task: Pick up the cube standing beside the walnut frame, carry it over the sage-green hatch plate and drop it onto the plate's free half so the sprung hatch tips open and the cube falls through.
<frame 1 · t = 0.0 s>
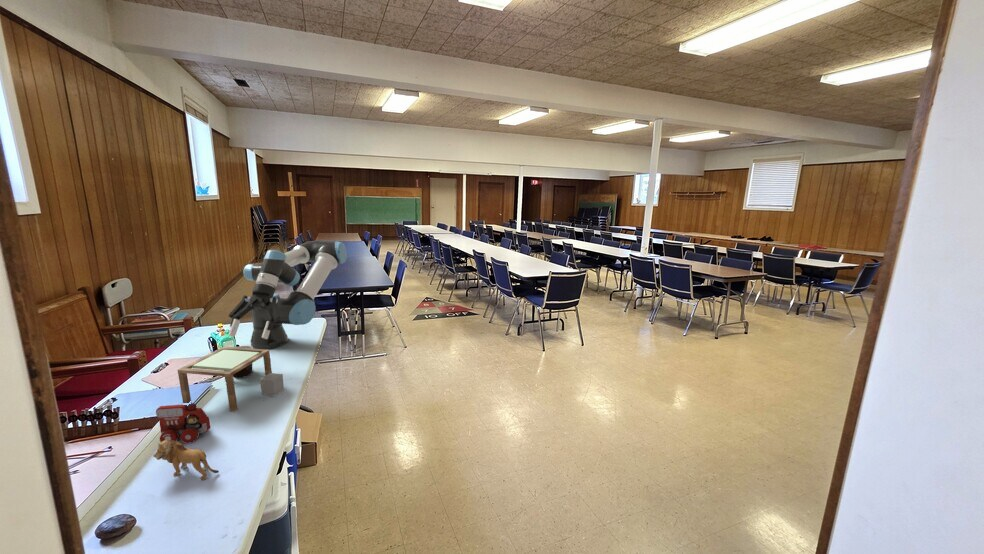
hand: (247, 337, 145), 15 cm above the table, tool tilted 35°, fingers open, 13 cm apart
cube: (273, 391, 136), on the table
lion figurine: (188, 474, 97), on the table
hatch: (228, 359, 131), point 13 cm above the table, hinge at 0.0°
coffee mug: (245, 372, 150), on the table
frame: (231, 394, 133), on the table
toy fire truck: (186, 437, 111), on the table
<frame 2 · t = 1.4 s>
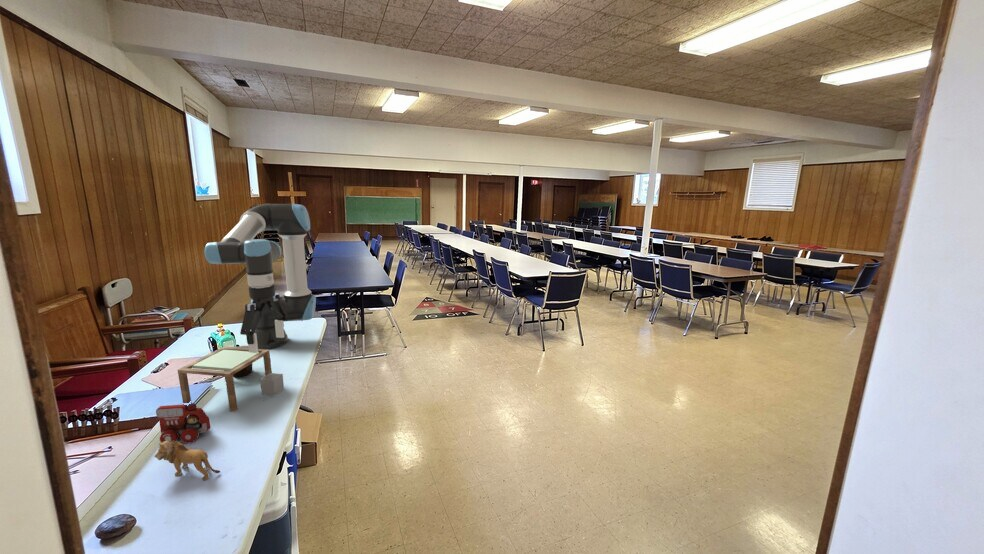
hand: (267, 344, 132), 18 cm above the table, tool pointing down, fingers open, 13 cm apart
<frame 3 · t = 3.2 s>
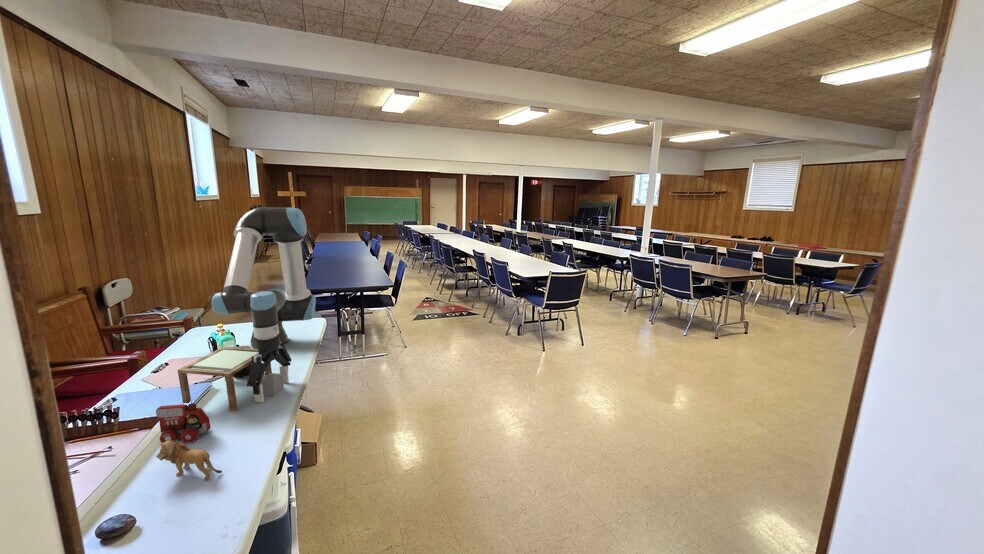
hand: (272, 391, 136), 0 cm above the table, tool pointing down, fingers open, 13 cm apart
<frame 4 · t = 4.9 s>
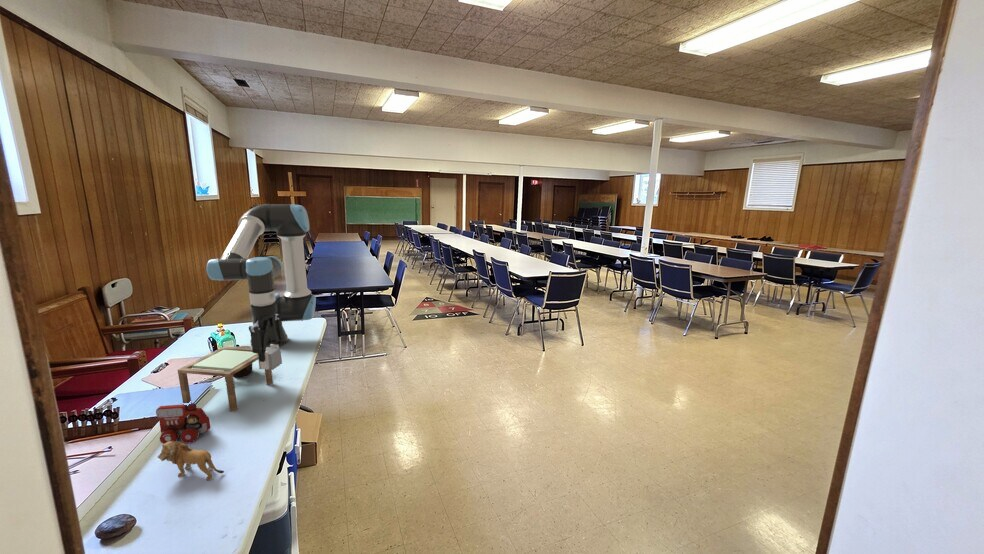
hand: (270, 364, 134), 10 cm above the table, tool pointing down, fingers closed on cube, 5 cm apart
cube: (270, 365, 135), point 10 cm above the table, touching gripper
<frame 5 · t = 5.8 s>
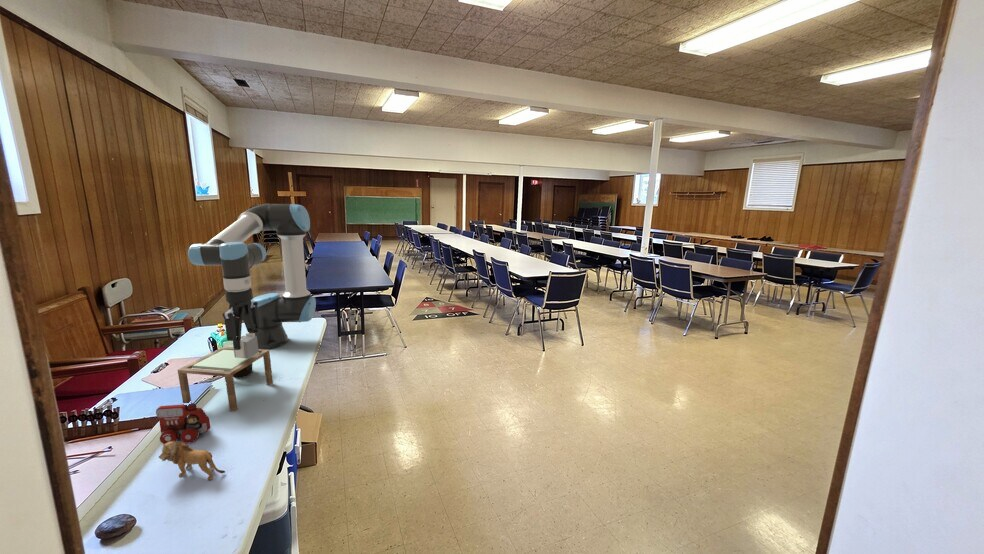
hand: (246, 353, 130), 16 cm above the table, tool pointing down, fingers closed on cube, 5 cm apart
cube: (246, 354, 131), point 15 cm above the table, touching gripper
when the fingers open (16 cm above the table, at t = 7.1 s): cube drops 9 cm and tips over, point 6 cm above the table.
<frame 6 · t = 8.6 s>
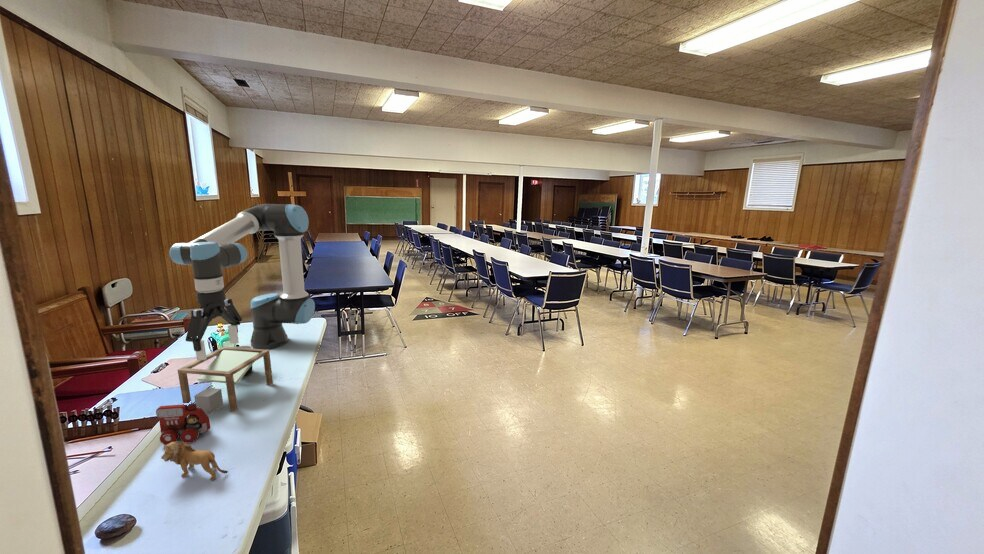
hand: (218, 350, 127), 18 cm above the table, tool pointing down, fingers open, 13 cm apart
cube: (207, 392, 123), point 6 cm above the table, tilted 180°
hatch: (230, 365, 132), point 10 cm above the table, hinge at -24.1°
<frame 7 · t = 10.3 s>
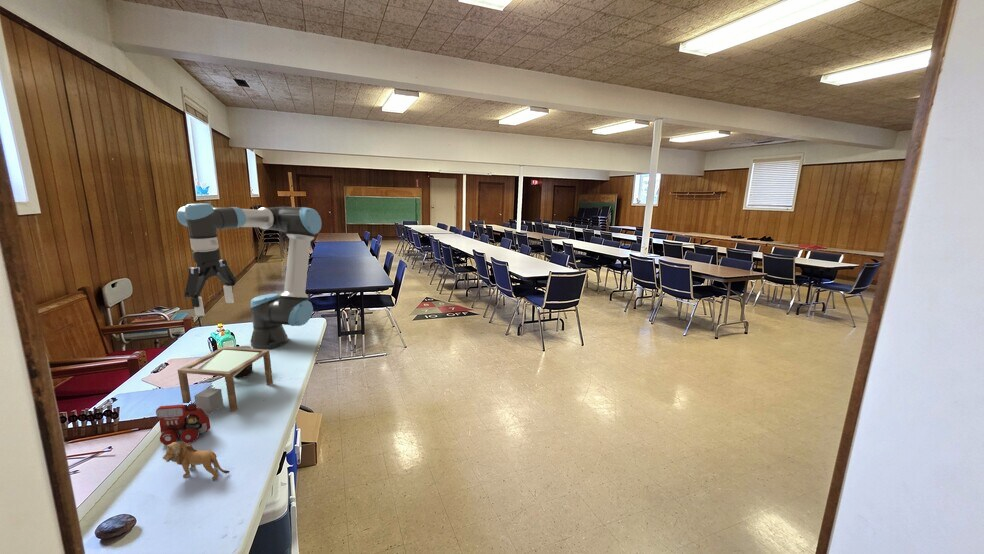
hand: (215, 308, 134), 29 cm above the table, tool pointing down, fingers open, 13 cm apart
hatch: (228, 362, 132), point 12 cm above the table, hinge at -10.0°
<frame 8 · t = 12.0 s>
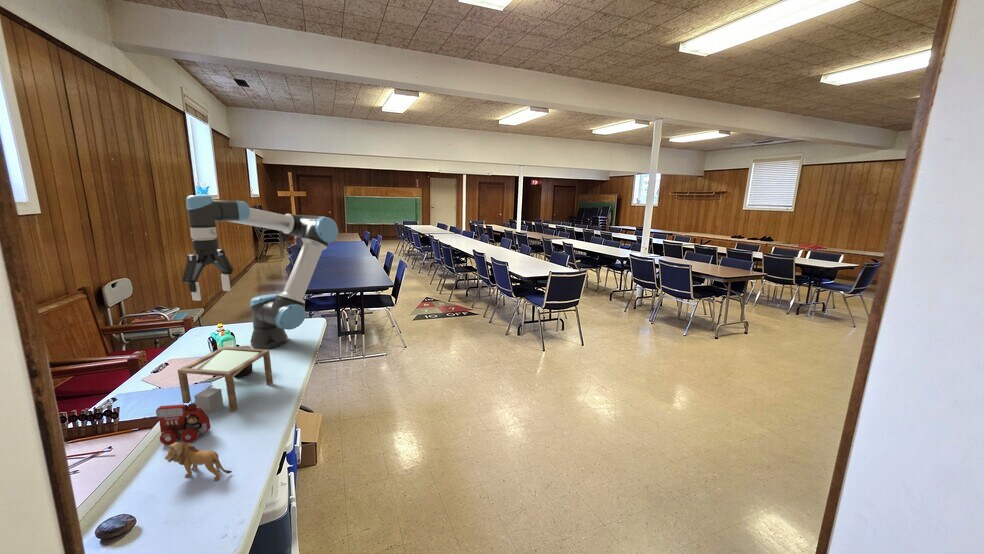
hand: (212, 295, 141), 32 cm above the table, tool pointing down, fingers open, 13 cm apart
hatch: (228, 362, 132), point 12 cm above the table, hinge at -9.2°
at the end: cube point 5.9 cm above the table; cube inside the target area (8.9 cm from its centre), point 5.9 cm above the table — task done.
